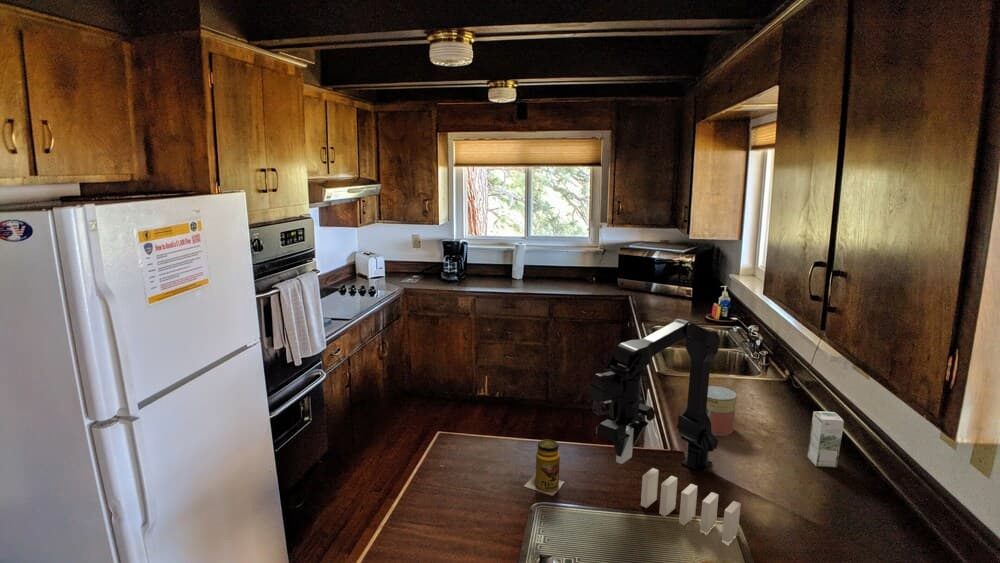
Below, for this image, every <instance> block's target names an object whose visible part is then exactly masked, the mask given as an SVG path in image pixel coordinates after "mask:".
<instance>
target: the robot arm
mask: <svg viewBox="0 0 1000 563" xmlns="http://www.w3.org/2000/svg"><path fill="white" fill-rule="evenodd" d="M682 340H685V349H686V352H687V354H688V357H689V358H690V367H689V378H688V391H687V403H686V404H687V405H686V409H685V411H684V412H683V413H682V414H679V415H678V416H677V426H676V429H677V431H678V433H679V435H680V439H681V440H682V441H684V442H686V443H687V444H686V445H687V448H686V458H684V459H683V460H682V461H681V463H680V464H681V465H683V466H686V467H689V468H690V469H694V470H696V471H699V472H701V473H704V472H705V471H706V470H707V469H709V468H710V467H711V466H712V465H713V462H712V461H711V460H709V456H710V455H709V453H710V452H711V453H712V452H714V450H715V449H717V447H718V445H719V440H718V439H717V437H716V436H715V435H713V434H712V432H711V421H710V419H709V417H708V415H707V413H706V407H707V396H708V386H709V383H710V372H711V362H712V361H713V359H714V358H715V357H716V355H718V352H719V348H720V342H721V336H720V335H719V334H718V332H717V331H715V330H712V329H709V328H706V327H704V326H703V327H702V326H700V325H697V324H696V323H694V322H693V321H690V320H687V319H685V318H680V317H679V318H675V319H674V320H673V322H671V323H669V324H667V325H665V326H663V327H662V328H660V329H658V330H656V331H654V332H653V333H650V334H649V335H647V336H645V337H643V338H640V339H631V340H627V341H623V342H620V343H619V344H618V345H617V346H616V347H615V349H614V351H613V353H612V354H611V356H610V358H609V360H608V362H607V363H606V365H605V366H604V371H606V372H602V373H601V372H600V373H595V374H594V378H592V379H591V380H590V382H589V384H588V392H589V395H590V398H591V400H592V401H593V402H592V407H591V408H592V409H591V410H592V411H593V413H594V415H597V416H601V415H602V416H603V415H609V418H612V419H615V420H611V419H608V418H607V419H605V420H603V421H602V422H600V423H599V424H598V423H597V425H596V426H595V434H596V435H598V436H599V437H602V438H605V439H607V440H609V441H612V444H613V447H614V451H615V455H616V454H617V456H619V457H621V456H622V454H623V451H624V449H625V446H626V444H627V441H628V439H629V436H630V435H629V434H626V429H627V426H630V427H632V428H634V432H633V448H634V447H635V445H636V444H637V441H638V440H639V439H640V436H642V434H643V432H644V430H645V428H646V427H647V426H648V425H649V422H651V421H652V420H654V419H655V418H656V417H655V416H656V410H655V408H653V406H650V405H647V404H643V402H644V398H643V397H641V382H642V378H643V377H647V376H648V375H649V374H648V372H647V371H646V370H645V368H646V367H648V365H650V364H651V362H652V359H653V357H655V355H657V354H659V353H661V352H663V351H664V350H666V349H668V348H670V347H672V346H673V345H675V344H677V343H678V342H680V341H682ZM618 365H619V366H621V367H619V366H618ZM622 367H623V368H625V369H623V368H622ZM643 415H644V416H646V418H645V419H646V420H647V421H645V420H644V418H643ZM648 421H649V422H648Z"/></svg>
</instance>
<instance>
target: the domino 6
mask: <svg viewBox="0 0 1000 563" xmlns="http://www.w3.org/2000/svg"><path fill="white" fill-rule="evenodd" d="M741 505H742V504H741V503H740V502H738V501H735V500H733V501H731V503H730V504H729V505H728V506H727V507H726V508H725V509H724V512H723V513H724V514H723V522H722V532H721V533H722V535H721V541H722V540H724V541H726V542H730V541H731V540H732V539H733V537H734V536H735V535H736V534H737V532H738V533H739V526H740V525H739V523H740V515H741V507H742V506H741Z"/></svg>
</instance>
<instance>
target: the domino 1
mask: <svg viewBox="0 0 1000 563" xmlns="http://www.w3.org/2000/svg"><path fill="white" fill-rule="evenodd" d="M633 432H634V428H632V427H630V426H627V429H626V434H629V435H630V436H629V439H628V441H627V444H626V446H625V449H624V451H623V454H622V456H621V457H619V456H617V454H616V453H615V462H616V463H618V464H620V465H622V464H624V463H625V462H627V461H628V460H629V459H631V458H632V457H633V449H634V447H633Z"/></svg>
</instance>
